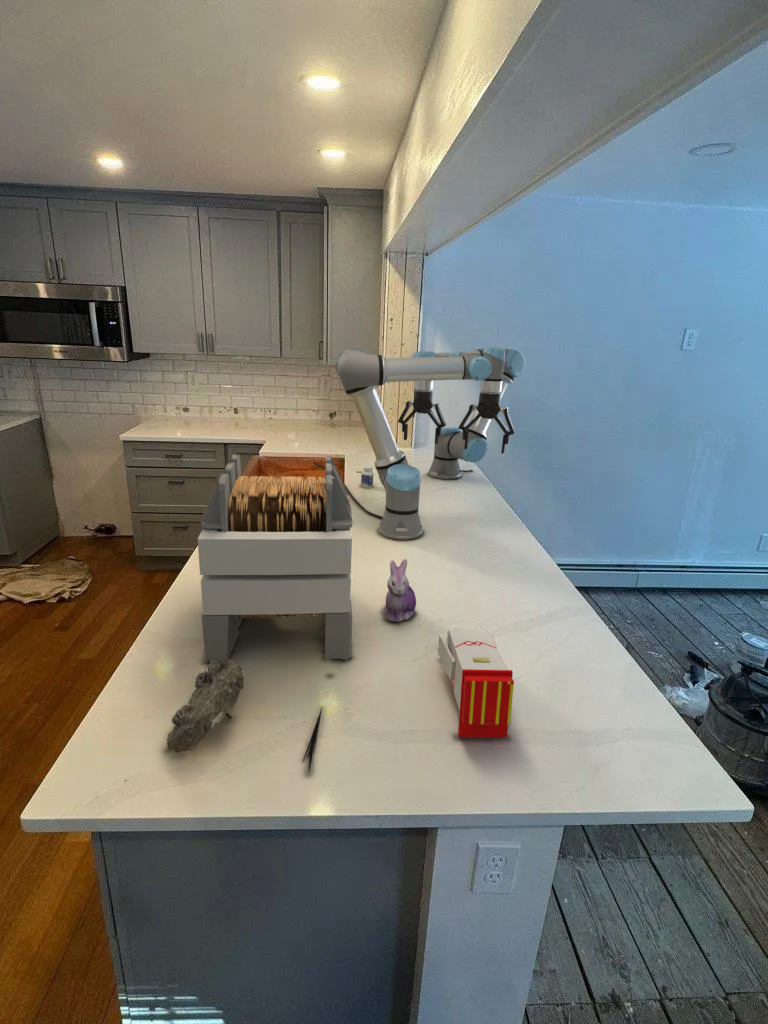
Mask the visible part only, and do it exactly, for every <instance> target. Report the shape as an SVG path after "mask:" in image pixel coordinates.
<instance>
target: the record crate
mask: <svg viewBox="0 0 768 1024" xmlns="http://www.w3.org/2000/svg"><path fill="white" fill-rule="evenodd" d="M324 457H325V458H324V459H325V461H324V462H325V463H324V464H325V465H324V467H325V469H324V476H318V477H316V476H307V477H303V476H288V475H287V476H280V477H279V476H274V475H270V476H268V475H259V476H258V475H255V476H254V475H250V476H247V475H242V466H241V456H240V454H231V457H230V459H229V462H227V463H226V466H225V467H224V470H223V472H222V474H220V476H219V478H218V480H217V482H216V484H215V487H214V488H213V491H212V493H211V496H210V498H209V500H208V502H207V505H206V507H205V509H204V511H203V513H202V516H201V518H200V527H201V532H200V533H199V535H198V537H197V550H198V565H199V576H202V577H201V579H200V590H201V591H200V592H201V606H202V607H201V608H202V613H201V626H202V627H201V629H202V640H203V646H204V658H203V660H204V662H208V663H210V662H211V661H212V660H217V661H222V662H223V661H224V660H227V659H228V660H229V658H230V655H231V653H232V650H233V648H234V645H235V643H236V640H237V638H238V628H240V625H241V621H242V619H243V618H282V617H283V618H289V617H290V618H293V617H297V618H298V617H314V616H315V617H320V616H321V617H324V653H325V654H324V655H325V660H338V659H339V660H348V659H350V658H352V644H353V643H352V641H353V639H352V638H353V610H352V600H351V588H352V587H351V586H352V582H351V581H352V577H351V574H352V553H353V552H352V548H353V547H352V546H353V537H352V530H351V528H352V527H353V523H354V520H353V513H352V506H351V501H350V500H351V499H350V495H349V494H348V492H347V489H346V487H347V486H346V487H345V485H346V484H345V482H344V481H343V478H342V477H341V474H340V472H339V470H338V468H337V466H336V463H335V461H334V460H333V457H332V455H328V454H327V455H326V454H325V456H324ZM344 484H345V485H344Z"/></svg>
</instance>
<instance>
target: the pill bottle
mask: <svg viewBox="0 0 768 1024" xmlns="http://www.w3.org/2000/svg"><path fill="white" fill-rule="evenodd" d="M362 470H363V471H361V475H360V477H361V478H360V486H361V487H362V488H365V489H371V488H373V487H374V472H373V466H371V465H364V466H363V469H362Z"/></svg>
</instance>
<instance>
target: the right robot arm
mask: <svg viewBox="0 0 768 1024" xmlns="http://www.w3.org/2000/svg"><path fill="white" fill-rule="evenodd" d="M503 349H504V350H505V363H504V370H503V378H502V389H501V392H500V395H501V398H500V401H501V400H502V398H503V396H504V394H505V391H506V389H507V388H508V386H509V385H512V384H513V383H514V380H515V379H517V378H520V377H521V376H522V375H523V374H524V372H525V369H526V360H525V356H524V355H523V353H522V352H521V351H519V350H516V349H514V348H510V349H509V348H503ZM483 351H484V348H479V349H477V348H476V349H472V350H470V351H463V352H464V353H483ZM454 352H455V351H454ZM454 352H453V351H452V352H451V351H450V352H434V351H432V350H431V351H430V350H419V351H417V352H414V353H412V354H411V356H410V357H450V355H451V354H452V353H454ZM433 390H434V381H414V391H413V401H411V400H407V401H406V402H405V407H404V409H403V410H402V412H401V415H400V416H399V418H398V420H397V423H398V424H401V432H402V433H403V441H407V440H408V432H409V431H408V430H409V424H408V422H409V421H410V420H411V418H413V416H414V415H415V414H416V413H417V414H422V415H423V414H424V415H426V414H427V415H428V416H429V418H430V419H431V420H432V422H433V423H434V425H435V426H436V427H435V431H434V432H435V433H434V448H433V449H434V450H433V451H434V452H433V460H432V462H431V465H430V468H429V470H428V475H429V476H430V477H432V478H434V479H439V480H457V479H460V478H461V475H462V472H463V473H470V472H474V470H473V469H469V470H466V469H465V470H464V469H461V467H460V462H459V460H462V461H464V462H467V463H477V462H480V461H481V460H483V459H484V457H485V456H486V454H487V452H488V442H487V438H488V436H487V431H488V428H489V426H490V424H491V422H492V420H493V419H488V418H486V419H484V418H482V417H480V418H479V419H478V420H477V421H476V422H475V423H474V424H472V425H471V426H470V427H469V428H468V429H467V430H468V431H469V439H468V448H467V449H464V448H465V440H463V430H461V429H459V428H458V427H453V426H451V427H446V426H447V422H446V421H445V418H444V416H443V413H442V411H441V404H440V403H439V402H438V403H433V395H434V392H433ZM478 404H479V402H478V403H477V405H476V406H478ZM411 407H413V408H414V409H413V410H412V411H411V412H410V413H409V414H408V412H409V410H410V408H411ZM432 408H433V409H434V410H435V413H436V415H437V417H436V415H435V414H434V411H433V410H432ZM407 414H408V415H407ZM478 414H479V412H478V411H477V409H475V410H474V411H473V414H472V416H471V418H470V420H469V423H470V422H471V421H472V420H473V419H474V418H475V417H476V416H477V415H478ZM406 415H407V417H406Z"/></svg>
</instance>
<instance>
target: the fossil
mask: <svg viewBox="0 0 768 1024" xmlns="http://www.w3.org/2000/svg"><path fill="white" fill-rule="evenodd" d="M243 670H244V669H243V667H242V665H240V664H237V662H236V661H235V660H234V659H232V658H231V659H229V658H228V659H227V660H224V661H217V660H212V661H211V662H209V665H208V666H207V671H201V672H199V673H198V674H197V675H196V676H195V680H194V684H195V685H194V687H195V689H194V690H193V693H192V694H191V697H190V698H189V700H188V704H184V705H182V706H181V707H180V709H177V710H176V711H175V713H174V715H173V716H172V718H171V723H172V724H173V727H172V730H171V731H170V732H168V734H167V738H166V741H167V742H166V745H167V749H168V750H169V751H173V752H174V753H176V754H178V753H182V752H188V751H189V752H192V751H193V750H195V748H196V747H197V746H199V744H200V743H201V742H203V741H204V740H205V739H206V738H207V737H208V736H209V735H210V734H211V733H212V732H214V730H215V729H217V727H218V726H219V724H220V722H221V721H222V720H223V719H224V718H225V716H226V717H227V719H229V720H233V717H232V715H230V714H229V710H230V709H231V708H234V706H235V704H236V703H237V702H238V699H239V697H240V695H241V693H242V691H243V690H245V689H244V688H245V675H244V671H243Z"/></svg>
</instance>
